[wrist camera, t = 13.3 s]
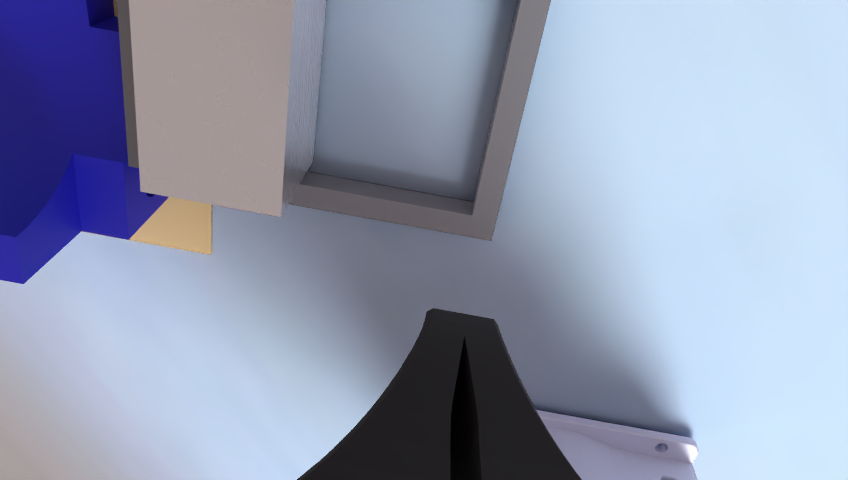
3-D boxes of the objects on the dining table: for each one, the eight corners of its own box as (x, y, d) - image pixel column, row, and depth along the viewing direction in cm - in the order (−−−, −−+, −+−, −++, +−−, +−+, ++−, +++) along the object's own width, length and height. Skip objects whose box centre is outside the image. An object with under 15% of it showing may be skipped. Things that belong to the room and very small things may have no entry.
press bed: (587, -169, 17) (592, -171, 16) (472, 300, 25) (472, 317, 24) (-61, -291, 17) (-90, -299, 16) (23, 219, 25) (6, 232, 24)
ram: (328, -29, 19) (294, -4, 16) (313, 161, 22) (280, 217, 19) (171, -58, 19) (101, -39, 16) (176, 136, 22) (119, 187, 19)
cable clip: (168, 197, 23) (77, 294, 18) (42, 173, 23) (-85, 263, 18) (155, -208, 17) (14, -235, 12) (-16, -241, 17) (-230, -282, 12)
